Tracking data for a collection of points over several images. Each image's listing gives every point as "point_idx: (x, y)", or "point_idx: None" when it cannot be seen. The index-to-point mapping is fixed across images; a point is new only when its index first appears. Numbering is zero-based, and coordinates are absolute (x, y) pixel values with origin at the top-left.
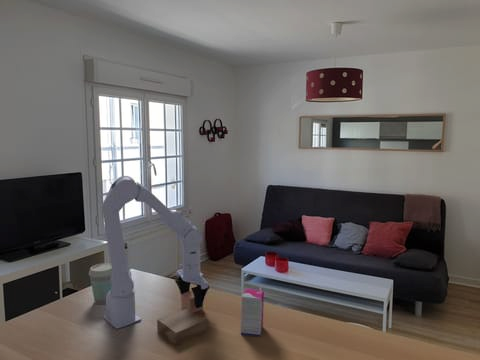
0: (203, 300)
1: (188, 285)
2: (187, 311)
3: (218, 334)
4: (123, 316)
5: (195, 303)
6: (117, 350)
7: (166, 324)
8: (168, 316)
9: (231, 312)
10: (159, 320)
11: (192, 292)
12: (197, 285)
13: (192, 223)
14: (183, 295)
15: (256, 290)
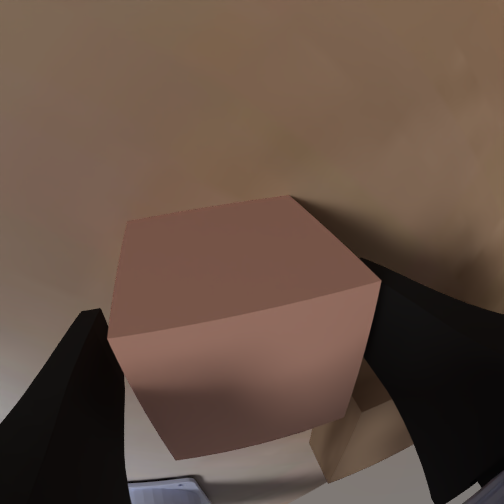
0: (411, 282)
1: (67, 454)
2: (394, 404)
3: (500, 264)
4: None
5: (368, 351)
6: (310, 485)
7: (386, 457)
8: (348, 462)
9: (464, 62)
10: (342, 477)
11: (203, 381)
12: (497, 486)
13: None
14: (219, 451)
15: None
